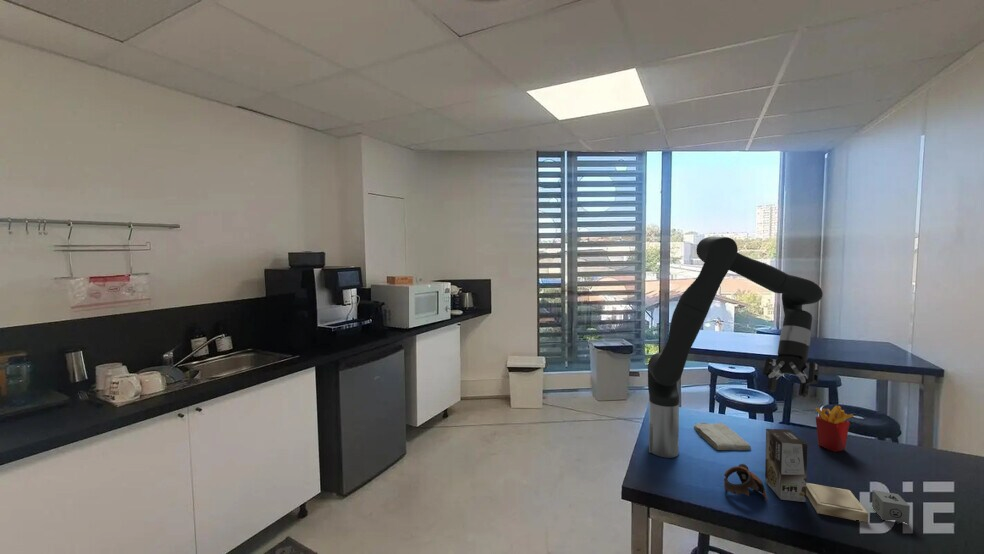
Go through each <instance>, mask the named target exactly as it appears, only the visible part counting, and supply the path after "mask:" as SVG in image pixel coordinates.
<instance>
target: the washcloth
mask: <svg viewBox="0 0 984 554" xmlns="http://www.w3.org/2000/svg"><path fill="white" fill-rule="evenodd" d="M693 428H694V430H695V431H696V432H697V433H698V434H699V436H701V437H702V438H703V440H705V441H706V442H708V444H709V445H711V446H712V448H714V449H715V450H718V451H728V450H729V451H732V450H733V451H750V450H751V449H752V448H751V445H750V443H748V442H747V441H746V439H744V438H742V437H741V436H740V435H739V433H736V432H735V431H734V430H733V429H731V428H730V427H729V426H727V424H725V423H722V422H716V423H708V422H701V423H699V422H698V423H695V424H694V425H693Z"/></svg>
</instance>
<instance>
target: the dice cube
mask: <svg viewBox="0 0 984 554" xmlns="http://www.w3.org/2000/svg"><path fill="white" fill-rule="evenodd" d="M871 501H872V502H871V508H872V507H873V509H874V510H875V511H876V512H877V514H878V515H879V516H880V517H881V518H880V517H879V516H878V515H877V514H876V515H877V516H878V517H879V518H880V520H881V519H882V520H881V521H883V520H896V521H899V522H905V523H907V524H909V525H910V512H911V511H910V508H911V507H910V506H911V505H910V504H908V503H907V502H906V501H905V500H904V498H902V497H901V496H900V495H899V494H898V493H893V492H887V491H881V490H874V489H873V490H872V499H871ZM873 509H872V510H873ZM874 510H873V511H874ZM875 511H874V512H875ZM876 512H875V513H876Z"/></svg>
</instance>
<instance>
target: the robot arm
mask: <svg viewBox="0 0 984 554" xmlns="http://www.w3.org/2000/svg"><path fill="white" fill-rule="evenodd" d="M738 250H739V249H738V243H736V241H735V240H734V238H731V237H728V236H719V235H717V236H716V235H715V236H711V235H710V236H707V237H705V238H703V239H701V240H700V241H699V243H697V246H696V255H697V257H698V258H699V259H700V260H701V261H702V262H703V265H702V267H701V269H700V272H699V274H698V276H697V277H696V278H695V279H694V281H693V282H692V283H691V284H690V285H689V286H688V287H687V288H686V289H685V290H684V292H683V293H682V295H680V297H679V299H678V302H677V304H676V306H675V308H674V311H673V313H672V316H671V320H670V326H669V332H668V337H667V340H666V341H667V342H666V344H665V345H664V348H663V350H662V352H657V353H655V354H652V356H651V357H650V358H649V360H648V363H647V388H648V389H647V390H648V394H649V395H648V396H649V397H648V398H649V399H648V401H649V402H648V403H649V405H648V406H649V407H648V408H649V409H648V412H649V413H648V414H649V415H648V453H649V454H653V455H655V456H658V457H662V458H668V459H669V458H676V457H678V455H679V452H680V451H679V450H680V449H679V447H680V446H679V445H680V444H679V441H680V440H679V439H680V438H679V437H680V436H679V434H680V430H679V427H680V424H679V423H680V395H679V392H678V387H677V386H678V385H677V383H678V382H679V380H680V379H681V378H682V375H683V372H684V370H685V369H684V368H685V366H686V363H687V360H688V357H689V353H690V351H691V348H692V347H693V345H694V342H695V340H696V339H697V337H698V334H699V332H700V330H701V328H702V327H703V324H704V322H705V321H706V318H707V316H708V313H709V311H710V308H711V306H712V305H713V301H714V300H715V297H716V295H717V293H718V291H719V288H720V286H721V284H722V283H723V281H724V280H725V278H726V275H727V274H728V272H733V273H735V274H737V275H739V276H741V277H743V278H745V279H747V280H749V281H750V282H752V283H755V284H756V285H758V286H760V287H762V288H764V289H766V290H767V291H770V292H772V293H774V294H781V302H782V309H783V313H784V316H783V323H782V327H781V332H780V335H779V340H778V341H779V342H778V348H777V358H776V359H775V358H771V357H766V359H765V363H764V366H763V367H764V368H763V371H762V372H763V373H762V375H763V376H765V377H767V378H768V383H767V388H768V390H769V391H770V392H776V389H777V385H778V379H779V378H780V377H782V376H784V375H787V376H788V375H789V376H790V375H792V376H796V377H798V379H799V380H800V383H799V389H798V396H800V397H801V398H806V397H807V396H808V394H809V389H810V385H817V384H819V371H820V369H819V368H820V366H819V364H817V363H815V362H813V361H810V362H808V357H809V351H810V345H811V338H812V337H811V329H812V323H813V316H812V314H811V313H810V312H809V311H807V310H803V306H805V305H812V304H815V303H818V302H820V301H821V300H822V298H823V290H822V288H821V287H820V286H819V284H817V283H816V282H814V281H812V280H810V279H807V278H803V277H801V276H796V275H793V274H792V275H791V274H788V273H787V272H784V271H783V270H781V269H779V268H777V267H775V266H773V265H770V264H767V263H765V262H762V261H759V260H757V259H754V258H751V257H748V256H746V255H743V254H741V253H740V252H738ZM775 366H776V367H775ZM806 369H807V370H808V375H807V374H806V372H805V370H806Z"/></svg>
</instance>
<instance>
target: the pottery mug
mask: <svg viewBox="0 0 984 554" xmlns="http://www.w3.org/2000/svg"><path fill="white" fill-rule="evenodd" d="M734 473H736V474H737V476H738V478H739V480H740V481H741V483H738V484H737V483H733V482H730V481H729V480H728V478H729V477H730V476H731V475H732V474H734ZM724 477H725V478H724V479H723V481H724V482H723V483H724V484H723V485H724V490H725V491H728V492H729V493H731V494H734V495H735V494H737V495H746V496H747V497H750V491H749V490H754V491H757V492H759V493H761V494H762V496H763V499H764V502H767V501H768V499H767V498H768V497H767V493H766V489H765V486H764V484H763V482H762V480H761V479H760V478H759V477H758V476H757V474H755V473H754V472H752V471H750V469H749V467H748V466H747V465H746V464H745V463H741V464H739V465H738V466H732V467H730V468H728V469H727V470H726V471H725V472H724Z"/></svg>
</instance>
